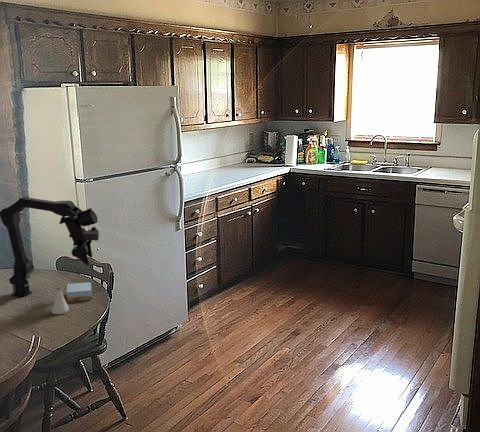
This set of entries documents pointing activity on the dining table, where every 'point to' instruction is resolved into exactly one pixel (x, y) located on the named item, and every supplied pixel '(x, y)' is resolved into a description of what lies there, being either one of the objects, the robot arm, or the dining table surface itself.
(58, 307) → the flask
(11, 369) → the dining table surface
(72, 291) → the pale blue square slab
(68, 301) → the walnut block
